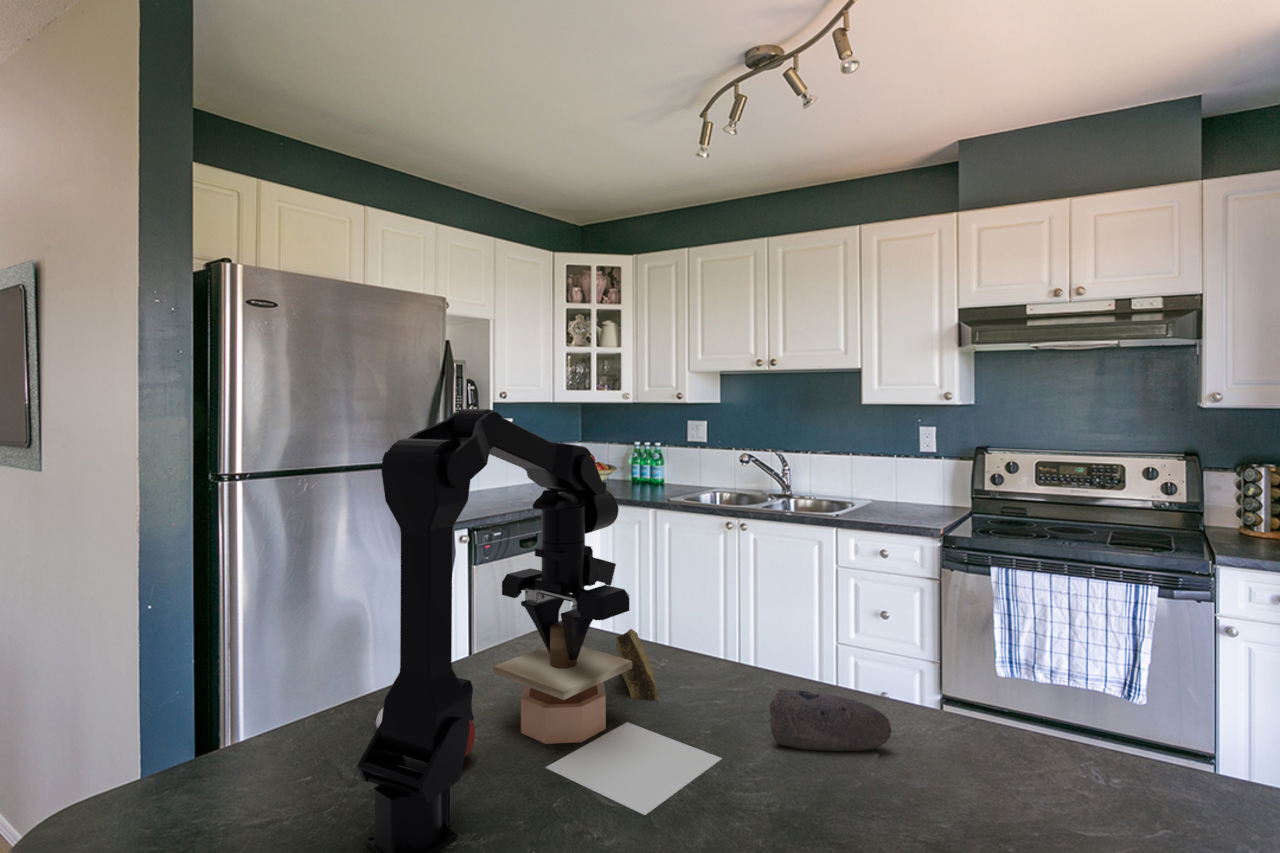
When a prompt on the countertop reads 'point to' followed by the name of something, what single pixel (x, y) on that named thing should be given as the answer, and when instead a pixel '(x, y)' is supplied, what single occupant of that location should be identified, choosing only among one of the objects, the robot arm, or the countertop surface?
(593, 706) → the octagonal clay planter
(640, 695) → the rock
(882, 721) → the perforated stone tool
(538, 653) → the board
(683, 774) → the mat
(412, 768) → the robot arm
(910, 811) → the countertop surface
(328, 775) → the countertop surface
